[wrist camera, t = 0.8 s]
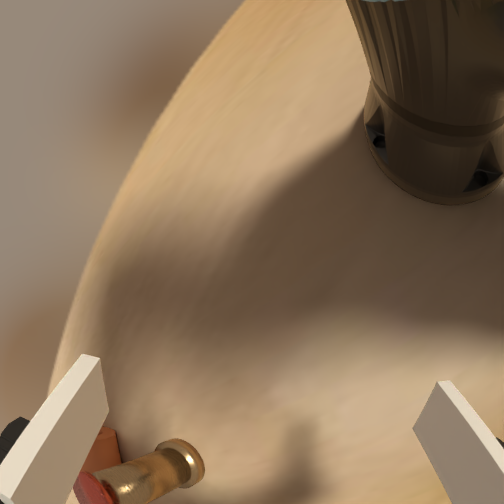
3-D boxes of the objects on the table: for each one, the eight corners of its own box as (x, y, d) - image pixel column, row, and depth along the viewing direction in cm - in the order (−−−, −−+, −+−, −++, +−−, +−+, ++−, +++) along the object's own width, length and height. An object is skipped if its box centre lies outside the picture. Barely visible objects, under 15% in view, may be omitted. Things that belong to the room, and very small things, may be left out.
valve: (172, 428, 32) (73, 457, 19) (212, 462, 28) (117, 510, 16) (157, 460, 32) (68, 491, 20) (193, 492, 29) (107, 537, 16)
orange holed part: (126, 432, 35) (80, 444, 28) (135, 479, 33) (94, 495, 26) (61, 409, 44) (25, 413, 37) (68, 447, 42) (34, 453, 35)
